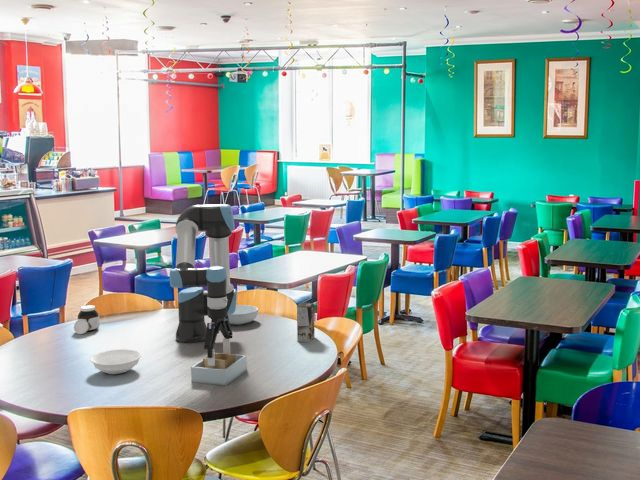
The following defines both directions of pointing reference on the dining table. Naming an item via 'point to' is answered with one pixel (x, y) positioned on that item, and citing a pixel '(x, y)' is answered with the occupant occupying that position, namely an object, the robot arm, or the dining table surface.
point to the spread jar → (87, 320)
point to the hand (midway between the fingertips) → (219, 359)
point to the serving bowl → (243, 314)
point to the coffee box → (305, 322)
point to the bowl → (116, 361)
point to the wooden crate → (220, 361)
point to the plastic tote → (219, 372)
